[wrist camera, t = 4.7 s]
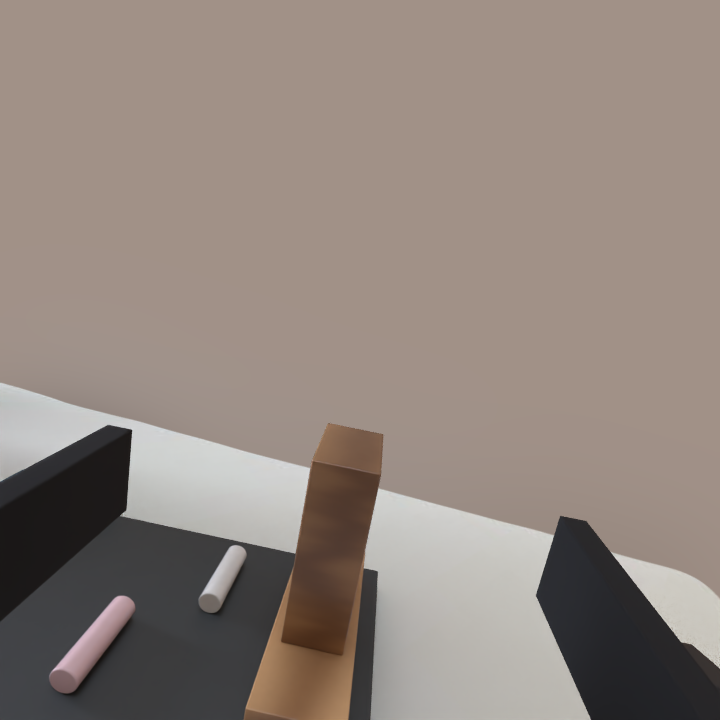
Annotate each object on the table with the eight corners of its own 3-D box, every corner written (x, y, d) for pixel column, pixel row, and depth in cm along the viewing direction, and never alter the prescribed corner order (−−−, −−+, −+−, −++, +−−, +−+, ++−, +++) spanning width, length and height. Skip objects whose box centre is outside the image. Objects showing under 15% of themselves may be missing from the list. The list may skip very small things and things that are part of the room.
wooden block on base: (237, 754, 19) (278, 496, 16) (297, 568, 30) (326, 402, 28) (337, 777, 19) (394, 521, 16) (358, 582, 30) (393, 415, 28)
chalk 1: (54, 696, 20) (43, 671, 20) (117, 618, 24) (108, 596, 24) (81, 692, 20) (70, 667, 19) (139, 614, 24) (131, 592, 24)
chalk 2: (195, 609, 26) (200, 590, 25) (225, 559, 30) (229, 541, 30) (218, 616, 25) (223, 597, 25) (244, 565, 30) (249, 548, 30)
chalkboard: (-108, 742, 18) (-111, 714, 18) (115, 532, 33) (116, 515, 33) (358, 854, 17) (364, 827, 17) (374, 588, 32) (377, 571, 32)
